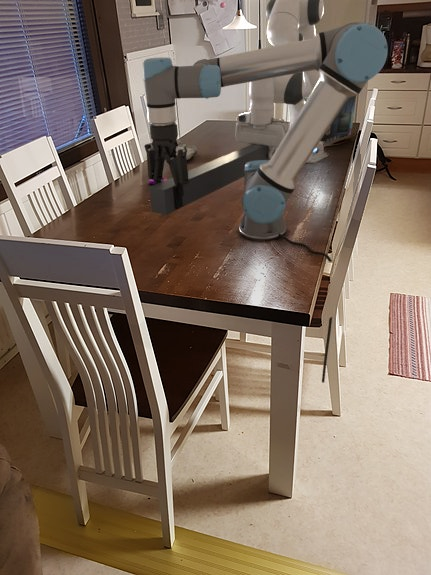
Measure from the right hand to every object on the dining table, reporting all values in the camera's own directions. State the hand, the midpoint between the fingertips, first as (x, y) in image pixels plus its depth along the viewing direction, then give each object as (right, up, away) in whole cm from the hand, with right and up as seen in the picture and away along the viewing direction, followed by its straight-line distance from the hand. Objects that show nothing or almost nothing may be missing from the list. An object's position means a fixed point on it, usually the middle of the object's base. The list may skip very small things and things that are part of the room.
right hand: (260, 156), depth 167 cm
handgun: (-39, -7, +23) cm, 46 cm away
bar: (-15, -13, -16) cm, 26 cm away
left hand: (-30, -24, -34) cm, 51 cm away
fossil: (-35, +17, +62) cm, 73 cm away
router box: (+42, +29, +77) cm, 93 cm away
